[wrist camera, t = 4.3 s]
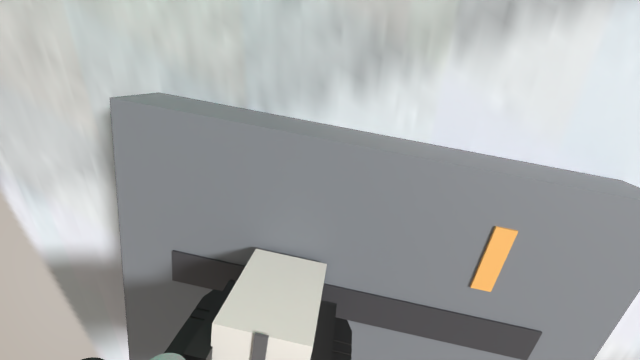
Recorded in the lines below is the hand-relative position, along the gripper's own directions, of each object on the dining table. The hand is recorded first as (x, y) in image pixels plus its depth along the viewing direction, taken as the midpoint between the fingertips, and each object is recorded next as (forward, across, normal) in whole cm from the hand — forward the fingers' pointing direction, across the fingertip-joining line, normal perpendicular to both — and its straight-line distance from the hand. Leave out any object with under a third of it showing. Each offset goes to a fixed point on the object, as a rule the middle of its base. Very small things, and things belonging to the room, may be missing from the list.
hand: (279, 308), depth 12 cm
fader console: (+4, -3, 0) cm, 5 cm away
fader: (+1, 0, 0) cm, 1 cm away
